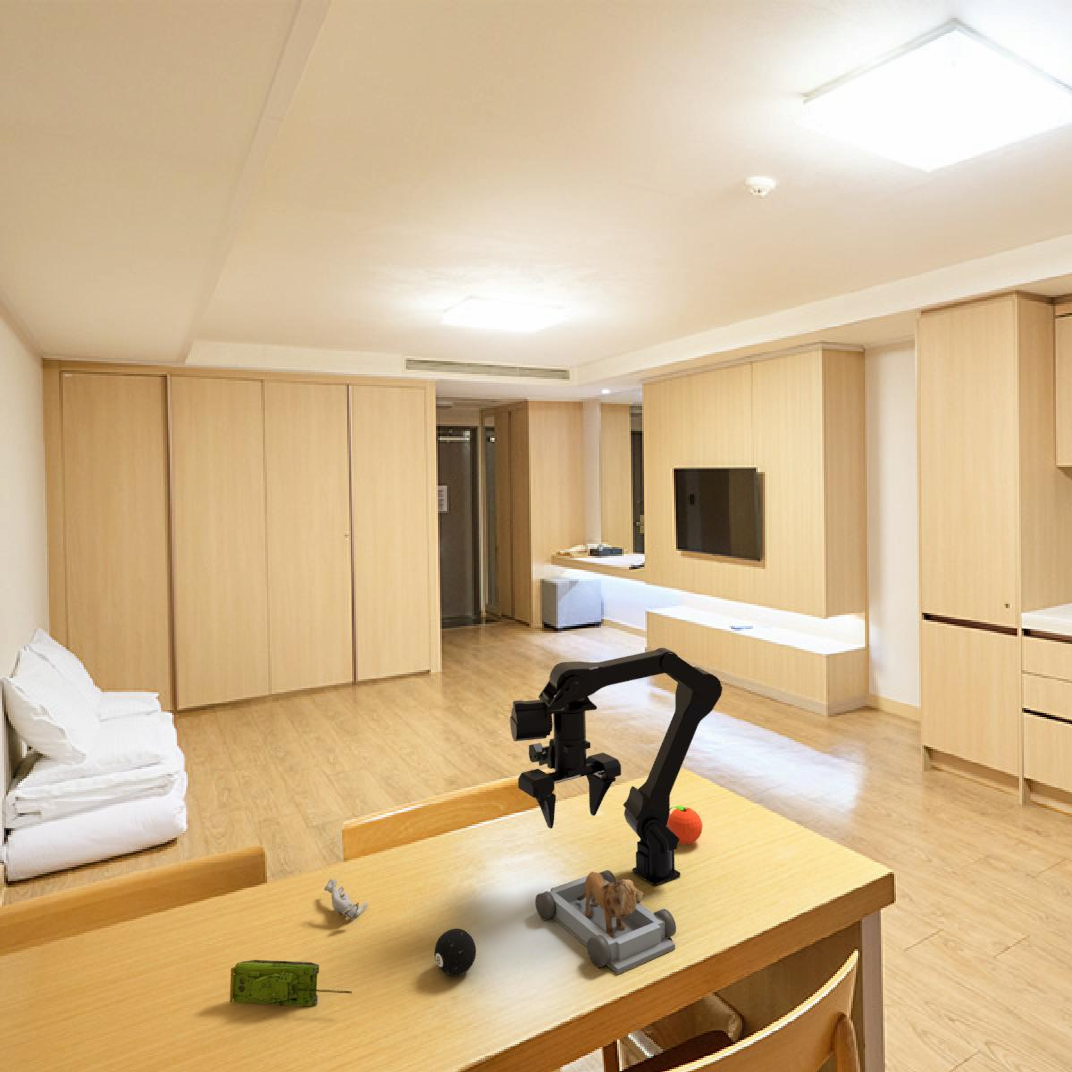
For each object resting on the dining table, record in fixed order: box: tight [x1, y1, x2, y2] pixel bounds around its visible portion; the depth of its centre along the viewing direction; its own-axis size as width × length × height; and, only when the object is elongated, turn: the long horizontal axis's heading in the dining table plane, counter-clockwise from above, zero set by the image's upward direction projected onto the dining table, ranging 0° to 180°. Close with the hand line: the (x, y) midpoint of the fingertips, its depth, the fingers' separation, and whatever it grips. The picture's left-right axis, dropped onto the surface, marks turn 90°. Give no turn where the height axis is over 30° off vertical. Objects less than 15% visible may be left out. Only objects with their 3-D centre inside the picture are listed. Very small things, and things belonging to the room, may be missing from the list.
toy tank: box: [229, 959, 353, 1007], centre depth 104 cm, size 7×19×10 cm
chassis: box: [534, 869, 677, 975], centre depth 122 cm, size 14×22×4 cm, turn 31°
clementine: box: [667, 805, 703, 845], centre depth 151 cm, size 8×7×7 cm
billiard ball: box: [433, 928, 477, 977], centre depth 111 cm, size 6×6×6 cm
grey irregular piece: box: [323, 878, 369, 922], centre depth 128 cm, size 8×5×12 cm
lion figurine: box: [577, 871, 644, 937], centre depth 122 cm, size 15×5×9 cm, turn 36°
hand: (571, 821), depth 134 cm, fingers open, 9 cm apart
